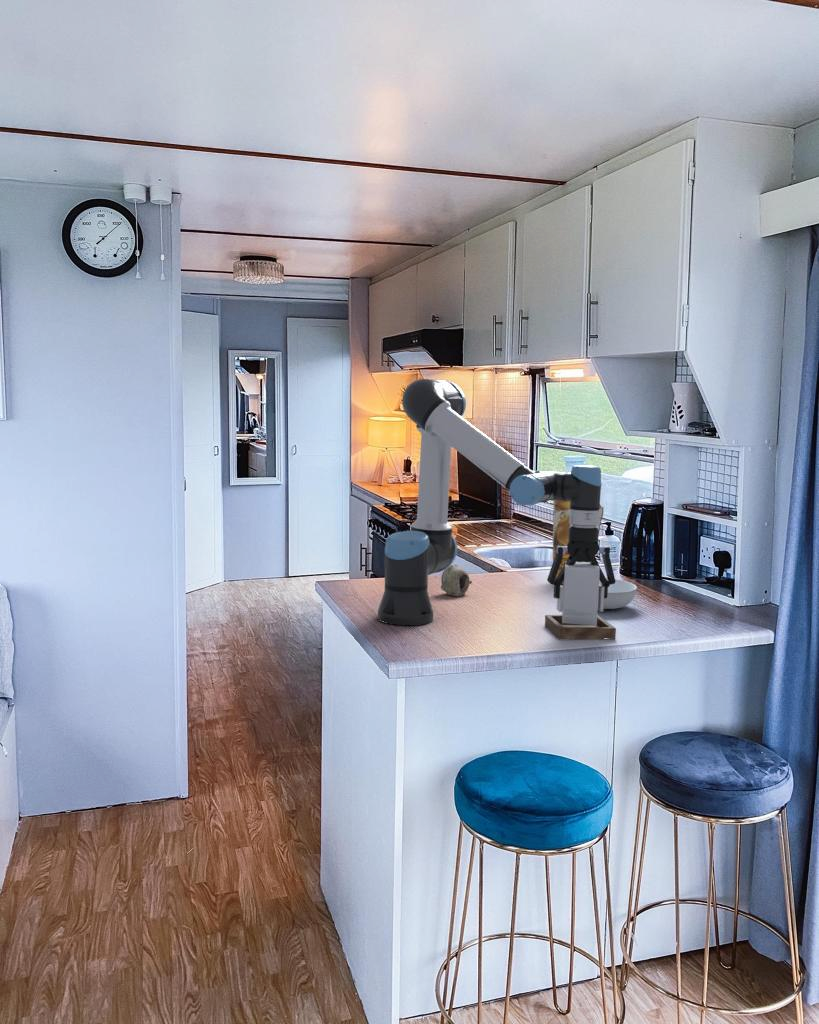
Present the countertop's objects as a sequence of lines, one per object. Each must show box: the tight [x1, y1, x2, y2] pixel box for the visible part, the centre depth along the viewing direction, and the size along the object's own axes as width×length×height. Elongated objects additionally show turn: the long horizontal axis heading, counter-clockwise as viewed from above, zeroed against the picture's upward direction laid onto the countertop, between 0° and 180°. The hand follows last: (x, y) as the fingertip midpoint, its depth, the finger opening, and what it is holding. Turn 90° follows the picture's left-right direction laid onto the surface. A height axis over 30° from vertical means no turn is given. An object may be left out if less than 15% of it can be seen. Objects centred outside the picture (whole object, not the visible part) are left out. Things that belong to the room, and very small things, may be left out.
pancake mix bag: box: [552, 500, 604, 586], centre depth 284 cm, size 7×19×28 cm, turn 39°
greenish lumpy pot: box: [440, 564, 473, 597], centre depth 267 cm, size 9×8×10 cm
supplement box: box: [561, 561, 601, 626], centre depth 224 cm, size 9×9×15 cm
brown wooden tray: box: [544, 614, 617, 640], centre depth 225 cm, size 14×14×3 cm
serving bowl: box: [599, 577, 638, 610], centre depth 254 cm, size 21×21×7 cm
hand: (579, 610), depth 224 cm, fingers closed on supplement box, 10 cm apart
